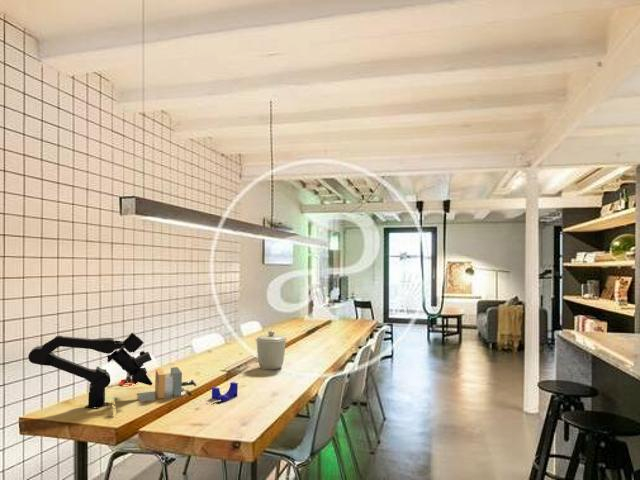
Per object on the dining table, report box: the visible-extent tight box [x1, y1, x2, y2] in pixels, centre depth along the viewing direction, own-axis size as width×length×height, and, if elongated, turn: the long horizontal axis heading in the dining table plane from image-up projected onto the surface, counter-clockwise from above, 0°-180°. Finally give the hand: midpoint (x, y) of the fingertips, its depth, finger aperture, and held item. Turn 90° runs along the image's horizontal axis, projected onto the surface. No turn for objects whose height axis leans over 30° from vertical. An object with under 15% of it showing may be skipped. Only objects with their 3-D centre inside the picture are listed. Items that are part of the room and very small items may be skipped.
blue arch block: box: [211, 381, 239, 404], centre depth 194 cm, size 12×4×6 cm, turn 143°
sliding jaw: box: [154, 368, 166, 400], centre depth 195 cm, size 2×12×10 cm, turn 27°
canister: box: [255, 330, 288, 371], centre depth 254 cm, size 18×18×21 cm
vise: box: [136, 366, 197, 402], centre depth 196 cm, size 24×13×12 cm, turn 117°
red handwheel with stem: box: [119, 372, 139, 386], centre depth 218 cm, size 8×13×9 cm
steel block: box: [165, 372, 174, 396], centre depth 196 cm, size 4×7×8 cm, turn 27°
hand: (151, 384), depth 193 cm, fingers closed
